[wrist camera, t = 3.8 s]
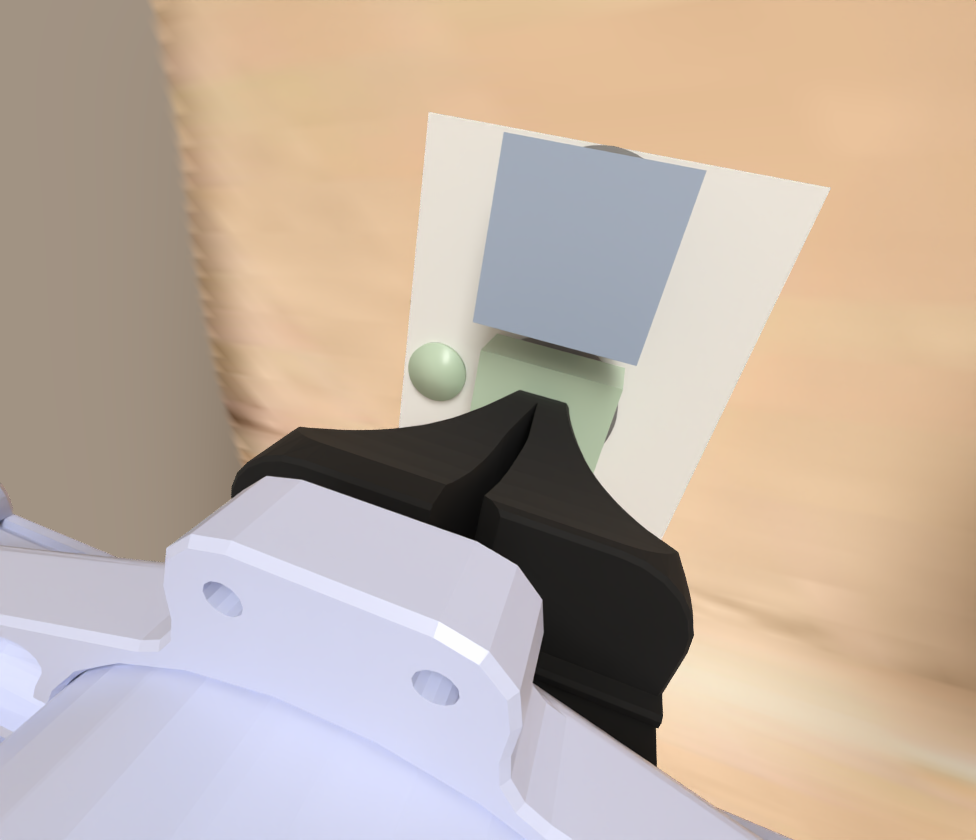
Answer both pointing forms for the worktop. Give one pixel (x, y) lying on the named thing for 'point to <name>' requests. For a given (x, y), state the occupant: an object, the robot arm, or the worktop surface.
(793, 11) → the worktop surface
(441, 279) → the console
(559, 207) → the slate button
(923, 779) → the worktop surface
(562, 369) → the sage button
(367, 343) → the worktop surface
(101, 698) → the robot arm
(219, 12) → the worktop surface
